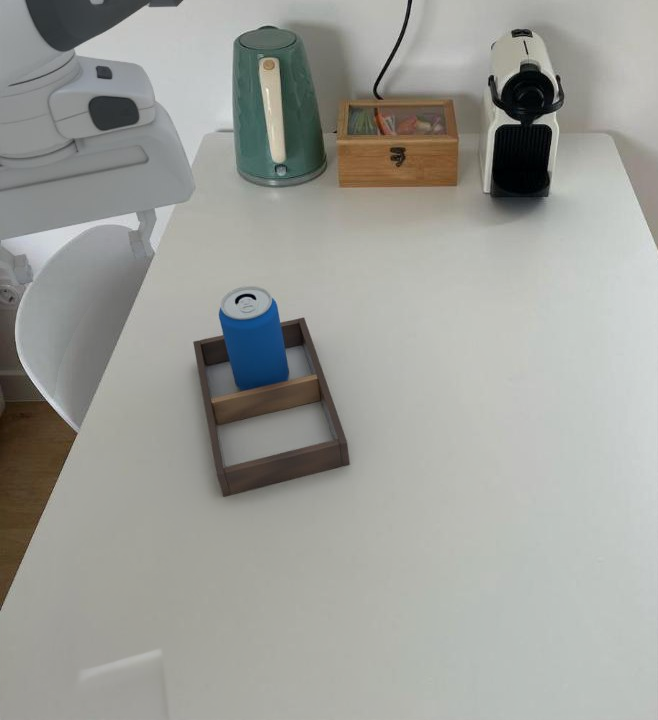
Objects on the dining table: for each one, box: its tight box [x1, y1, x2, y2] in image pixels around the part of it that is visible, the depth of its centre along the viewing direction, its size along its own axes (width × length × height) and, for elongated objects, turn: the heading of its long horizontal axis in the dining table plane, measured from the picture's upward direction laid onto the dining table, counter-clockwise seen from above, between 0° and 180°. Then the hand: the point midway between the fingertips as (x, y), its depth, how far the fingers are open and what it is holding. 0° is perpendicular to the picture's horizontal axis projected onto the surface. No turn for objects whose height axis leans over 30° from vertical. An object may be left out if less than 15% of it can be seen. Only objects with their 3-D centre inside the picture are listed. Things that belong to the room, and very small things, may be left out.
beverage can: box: [218, 285, 290, 391], centre depth 93 cm, size 6×6×12 cm
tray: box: [192, 317, 351, 497], centre depth 92 cm, size 14×22×4 cm, turn 17°
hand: (84, 266), depth 65 cm, fingers open, 8 cm apart
